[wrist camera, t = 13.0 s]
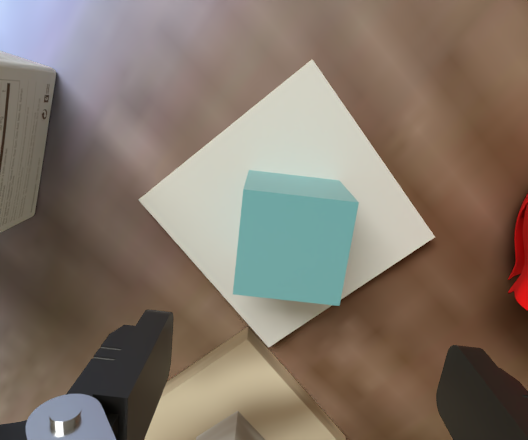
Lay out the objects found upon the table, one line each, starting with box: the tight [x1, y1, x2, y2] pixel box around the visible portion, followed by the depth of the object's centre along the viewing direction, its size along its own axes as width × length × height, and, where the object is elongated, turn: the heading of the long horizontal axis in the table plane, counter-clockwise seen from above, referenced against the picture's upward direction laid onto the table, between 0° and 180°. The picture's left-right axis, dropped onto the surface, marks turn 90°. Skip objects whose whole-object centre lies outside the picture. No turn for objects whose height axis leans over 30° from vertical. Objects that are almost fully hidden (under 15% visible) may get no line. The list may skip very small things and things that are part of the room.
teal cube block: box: [233, 170, 359, 306], centre depth 20 cm, size 5×5×5 cm
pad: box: [139, 60, 435, 347], centre depth 23 cm, size 12×12×1 cm
